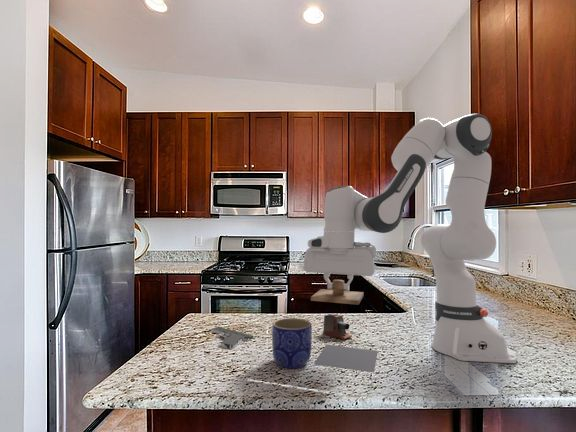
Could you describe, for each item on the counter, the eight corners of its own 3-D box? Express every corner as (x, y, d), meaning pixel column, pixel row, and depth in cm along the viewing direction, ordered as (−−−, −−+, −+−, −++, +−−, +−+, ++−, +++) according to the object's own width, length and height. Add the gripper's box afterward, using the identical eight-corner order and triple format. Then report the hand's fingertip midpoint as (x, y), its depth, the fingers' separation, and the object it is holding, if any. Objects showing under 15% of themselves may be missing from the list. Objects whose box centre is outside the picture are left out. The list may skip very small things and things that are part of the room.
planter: (266, 359, 95) (266, 320, 96) (301, 354, 99) (301, 316, 100) (280, 375, 85) (280, 331, 86) (318, 368, 89) (318, 326, 90)
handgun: (192, 339, 114) (218, 330, 124) (231, 351, 103) (257, 340, 113) (192, 334, 114) (218, 326, 124) (231, 345, 103) (257, 335, 113)
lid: (363, 295, 100) (363, 278, 101) (358, 304, 88) (358, 285, 88) (321, 292, 105) (321, 276, 105) (310, 300, 92) (311, 282, 92)
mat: (377, 352, 101) (377, 350, 102) (374, 373, 86) (374, 372, 86) (325, 345, 107) (325, 344, 107) (313, 365, 91) (313, 364, 91)
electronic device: (344, 342, 110) (344, 319, 110) (322, 335, 117) (322, 314, 117) (352, 339, 113) (352, 316, 113) (330, 333, 120) (330, 311, 120)
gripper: (376, 242, 97) (376, 290, 96) (308, 240, 103) (307, 285, 103) (375, 243, 91) (374, 294, 90) (302, 240, 97) (301, 288, 97)
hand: (338, 289), depth 96 cm, fingers closed on lid, 3 cm apart
